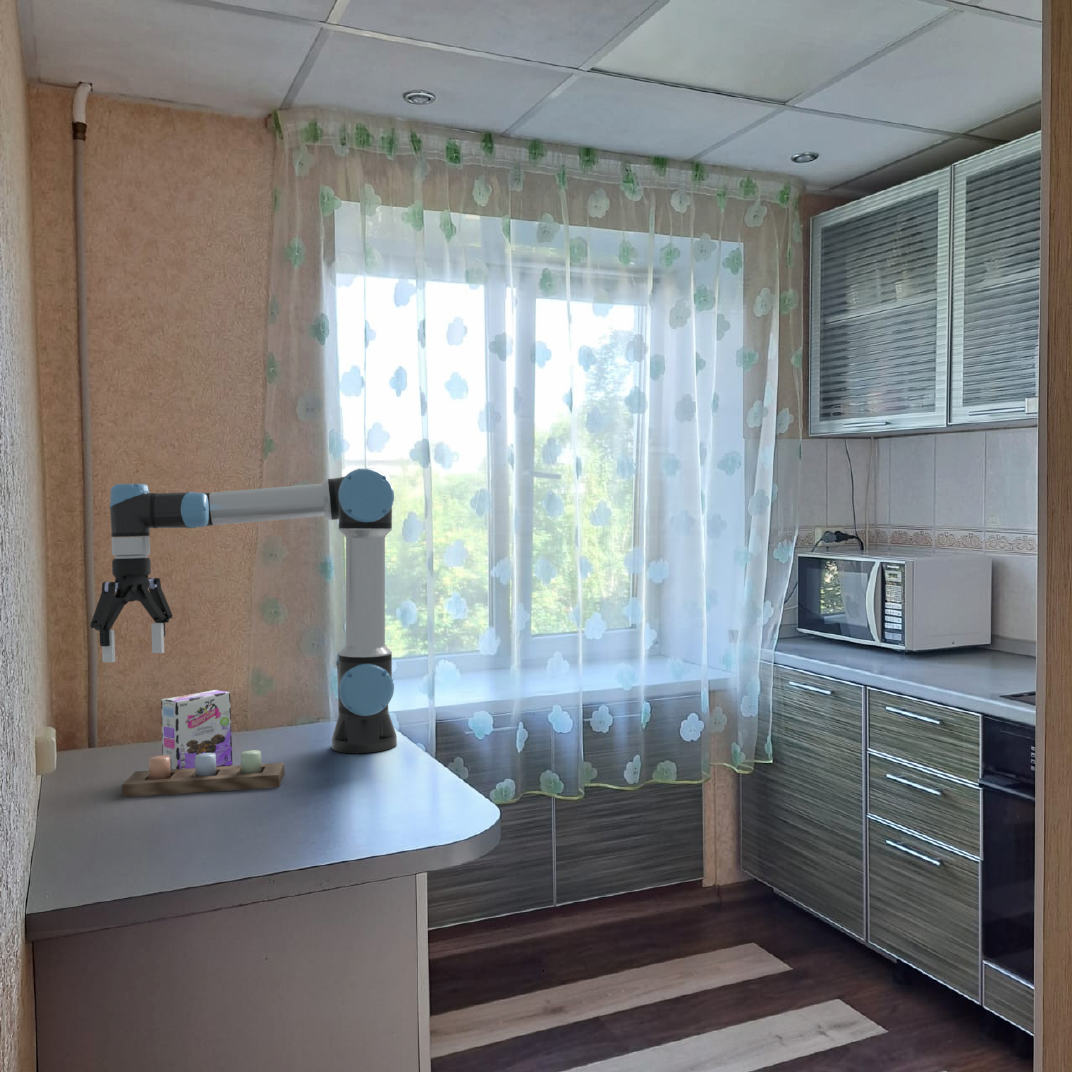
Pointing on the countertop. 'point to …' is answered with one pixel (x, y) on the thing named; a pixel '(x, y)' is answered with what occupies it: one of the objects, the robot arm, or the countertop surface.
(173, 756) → the candy box
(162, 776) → the button terracotta
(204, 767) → the button blue
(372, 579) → the robot arm
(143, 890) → the countertop surface
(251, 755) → the button sage
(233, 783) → the panel
